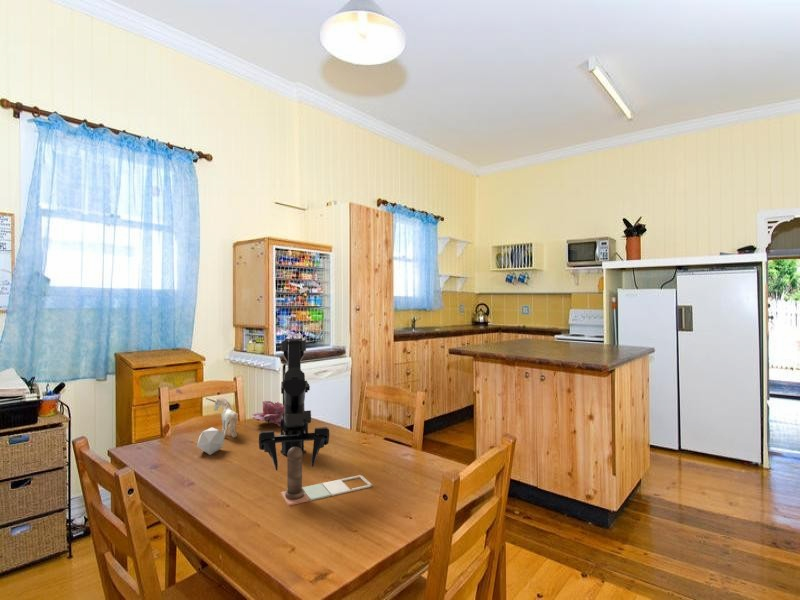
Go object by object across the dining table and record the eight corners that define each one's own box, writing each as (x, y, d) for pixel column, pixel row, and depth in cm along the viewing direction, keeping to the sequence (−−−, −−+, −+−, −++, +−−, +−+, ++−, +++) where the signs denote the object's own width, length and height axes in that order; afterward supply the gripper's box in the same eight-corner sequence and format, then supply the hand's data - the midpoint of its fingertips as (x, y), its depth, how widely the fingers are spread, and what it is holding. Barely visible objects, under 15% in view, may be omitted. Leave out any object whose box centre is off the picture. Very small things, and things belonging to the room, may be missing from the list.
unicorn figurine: (222, 427, 176) (222, 394, 176) (249, 437, 164) (249, 402, 164) (204, 431, 171) (204, 397, 171) (231, 442, 159) (231, 405, 158)
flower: (252, 425, 170) (259, 399, 172) (249, 420, 183) (256, 397, 186) (289, 431, 175) (295, 407, 177) (283, 426, 188) (289, 404, 191)
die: (228, 454, 148) (230, 426, 154) (211, 448, 142) (213, 420, 147) (209, 460, 150) (211, 433, 156) (190, 455, 143) (193, 427, 149)
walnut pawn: (303, 490, 118) (303, 443, 118) (304, 498, 114) (304, 449, 114) (285, 492, 117) (285, 444, 117) (285, 500, 112) (285, 450, 112)
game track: (360, 476, 129) (360, 474, 129) (372, 486, 122) (372, 485, 122) (280, 493, 117) (280, 491, 117) (288, 505, 110) (288, 504, 110)
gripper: (259, 402, 117) (256, 457, 107) (329, 398, 122) (332, 451, 111) (261, 422, 125) (258, 476, 114) (326, 418, 129) (329, 470, 119)
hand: (294, 468), depth 114 cm, fingers open, 9 cm apart
